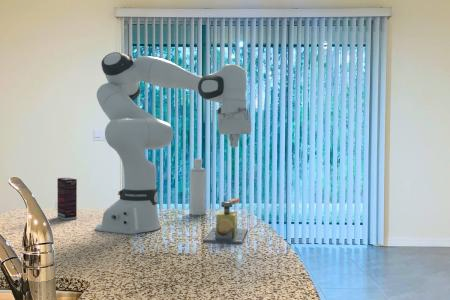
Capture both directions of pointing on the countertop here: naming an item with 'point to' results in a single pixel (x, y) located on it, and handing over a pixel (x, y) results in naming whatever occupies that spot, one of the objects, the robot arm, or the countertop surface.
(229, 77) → the robot arm
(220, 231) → the valve
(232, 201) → the lever
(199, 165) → the grey bottle
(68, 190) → the supplement box
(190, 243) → the countertop surface
